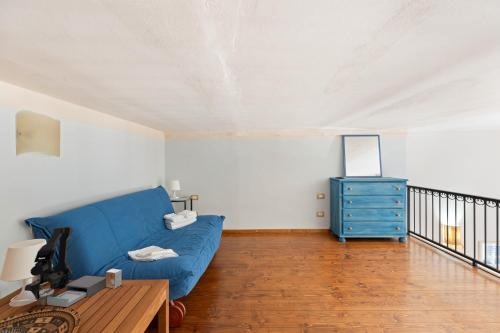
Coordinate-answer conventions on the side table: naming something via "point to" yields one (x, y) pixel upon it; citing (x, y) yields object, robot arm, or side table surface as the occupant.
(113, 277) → the small box
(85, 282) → the housing
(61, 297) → the tray
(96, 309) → the side table surface
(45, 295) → the disc
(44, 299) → the pedestal
